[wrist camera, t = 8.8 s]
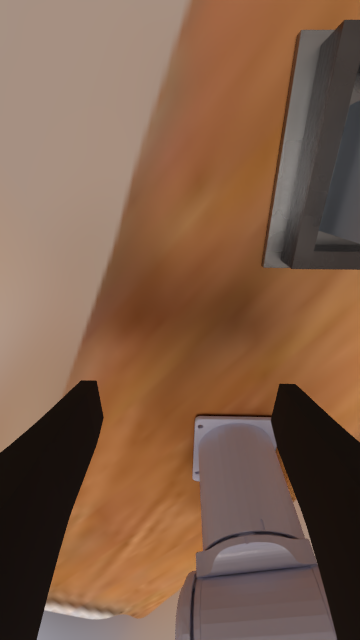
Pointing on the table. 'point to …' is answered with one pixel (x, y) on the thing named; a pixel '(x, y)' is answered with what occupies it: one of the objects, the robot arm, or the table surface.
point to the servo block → (345, 184)
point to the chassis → (313, 151)
